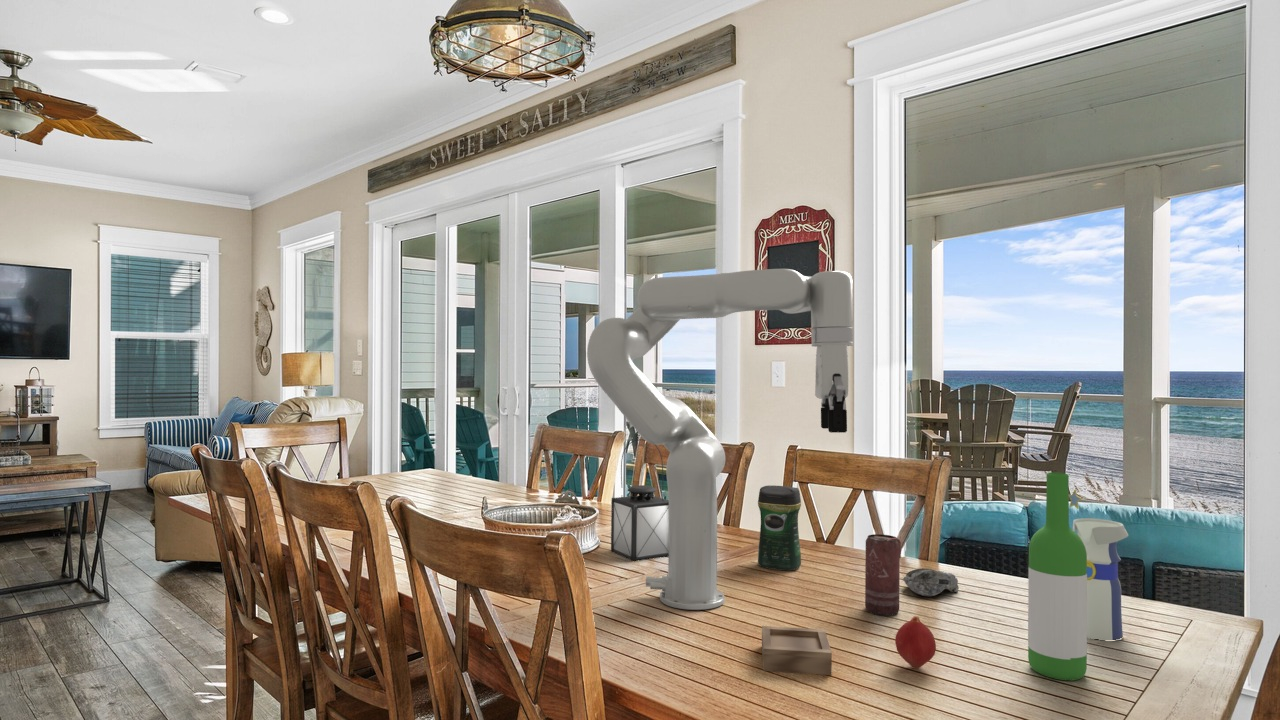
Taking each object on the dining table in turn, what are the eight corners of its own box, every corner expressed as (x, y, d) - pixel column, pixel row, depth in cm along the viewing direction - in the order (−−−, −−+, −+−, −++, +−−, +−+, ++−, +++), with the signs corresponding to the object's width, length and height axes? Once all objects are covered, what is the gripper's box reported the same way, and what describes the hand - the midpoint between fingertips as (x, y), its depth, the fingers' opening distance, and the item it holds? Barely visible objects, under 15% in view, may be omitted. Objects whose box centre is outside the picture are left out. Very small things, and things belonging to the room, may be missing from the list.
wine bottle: (1099, 680, 109) (1100, 476, 110) (1054, 684, 108) (1054, 477, 108) (1059, 660, 117) (1060, 469, 117) (1016, 663, 115) (1017, 470, 116)
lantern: (610, 551, 184) (611, 438, 184) (649, 546, 190) (649, 436, 190) (632, 562, 174) (633, 442, 175) (672, 556, 180) (673, 440, 180)
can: (902, 617, 136) (903, 541, 137) (866, 615, 138) (867, 539, 138) (898, 607, 142) (898, 534, 143) (863, 605, 144) (864, 532, 144)
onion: (888, 660, 116) (889, 609, 116) (924, 660, 116) (924, 608, 117) (905, 676, 110) (905, 622, 110) (942, 675, 111) (942, 621, 111)
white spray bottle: (1108, 645, 123) (1109, 495, 124) (1059, 629, 131) (1059, 487, 131) (1137, 638, 127) (1137, 492, 128) (1087, 622, 135) (1087, 484, 135)
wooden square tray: (763, 670, 112) (763, 648, 112) (761, 646, 121) (762, 625, 122) (831, 675, 110) (831, 652, 110) (824, 650, 120) (824, 629, 120)
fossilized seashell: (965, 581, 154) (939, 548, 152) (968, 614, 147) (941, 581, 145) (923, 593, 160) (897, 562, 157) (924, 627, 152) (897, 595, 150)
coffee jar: (804, 565, 172) (805, 485, 173) (794, 573, 165) (795, 490, 166) (764, 560, 177) (765, 482, 177) (753, 567, 170) (754, 486, 170)
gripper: (806, 340, 147) (807, 427, 147) (817, 336, 130) (819, 434, 130) (845, 340, 146) (846, 426, 146) (861, 335, 129) (863, 434, 129)
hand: (833, 430), depth 138 cm, fingers open, 9 cm apart
